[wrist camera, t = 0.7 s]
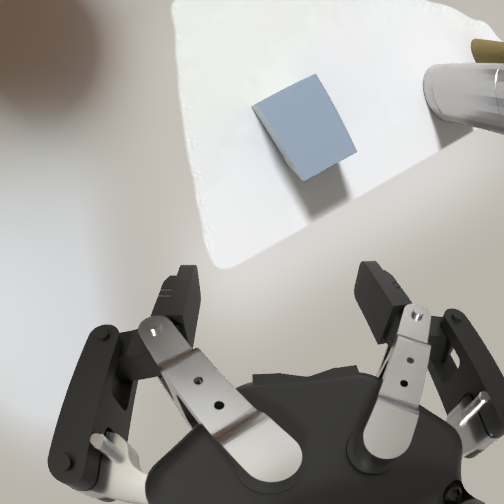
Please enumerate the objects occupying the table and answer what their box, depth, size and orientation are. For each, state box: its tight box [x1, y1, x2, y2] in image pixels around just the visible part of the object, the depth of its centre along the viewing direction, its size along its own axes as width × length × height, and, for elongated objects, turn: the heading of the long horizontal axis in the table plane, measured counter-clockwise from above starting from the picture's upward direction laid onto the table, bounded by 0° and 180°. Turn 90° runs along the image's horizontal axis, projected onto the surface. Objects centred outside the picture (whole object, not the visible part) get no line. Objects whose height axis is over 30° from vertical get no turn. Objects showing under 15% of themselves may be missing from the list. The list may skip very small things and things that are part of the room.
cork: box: [471, 39, 504, 64], centre depth 18 cm, size 6×6×11 cm
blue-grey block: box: [252, 74, 357, 181], centre depth 27 cm, size 9×6×8 cm
